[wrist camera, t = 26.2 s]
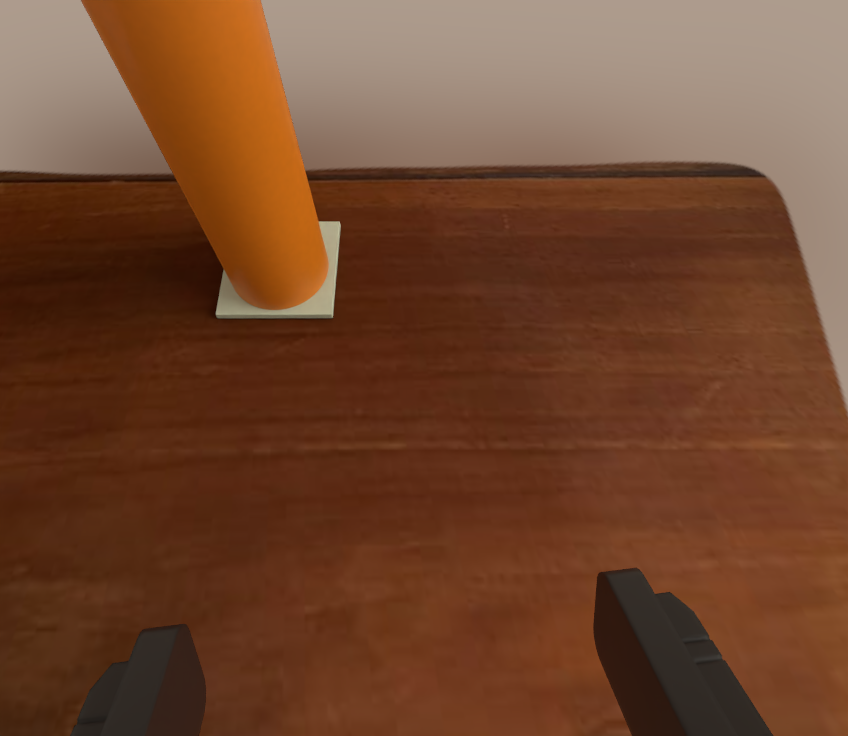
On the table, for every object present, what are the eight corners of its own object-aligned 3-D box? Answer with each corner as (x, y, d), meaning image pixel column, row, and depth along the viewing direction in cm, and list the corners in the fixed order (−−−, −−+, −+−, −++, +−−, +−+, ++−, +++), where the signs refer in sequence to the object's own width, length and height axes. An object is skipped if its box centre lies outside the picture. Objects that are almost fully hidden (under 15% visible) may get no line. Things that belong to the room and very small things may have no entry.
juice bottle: (346, 249, 33) (259, -160, 17) (297, 324, 31) (143, -55, 15) (264, 217, 34) (107, -197, 18) (211, 288, 32) (-21, -104, 16)
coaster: (340, 225, 34) (339, 221, 34) (333, 318, 32) (331, 314, 31) (234, 226, 34) (231, 221, 34) (217, 318, 32) (214, 314, 31)
